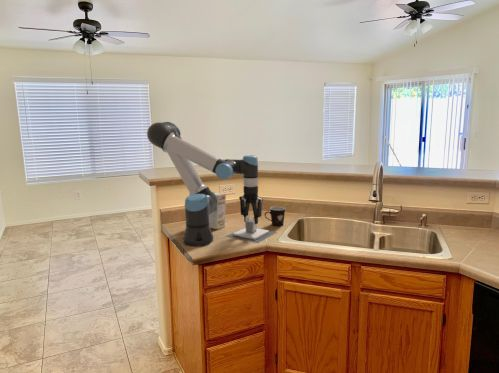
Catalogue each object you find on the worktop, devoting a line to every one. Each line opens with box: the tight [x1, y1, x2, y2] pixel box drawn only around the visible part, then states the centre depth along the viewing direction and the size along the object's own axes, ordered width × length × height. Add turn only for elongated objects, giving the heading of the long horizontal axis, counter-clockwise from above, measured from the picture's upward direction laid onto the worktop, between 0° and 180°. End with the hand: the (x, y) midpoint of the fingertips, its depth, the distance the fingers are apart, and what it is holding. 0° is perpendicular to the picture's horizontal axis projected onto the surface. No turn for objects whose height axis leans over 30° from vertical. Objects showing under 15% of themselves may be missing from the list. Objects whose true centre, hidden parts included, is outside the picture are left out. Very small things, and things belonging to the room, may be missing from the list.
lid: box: [232, 219, 270, 240], centre depth 194 cm, size 14×14×7 cm
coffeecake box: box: [209, 191, 227, 231], centre depth 209 cm, size 15×7×20 cm, turn 50°
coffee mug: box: [264, 206, 286, 227], centre depth 210 cm, size 12×9×10 cm
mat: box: [225, 229, 278, 244], centre depth 194 cm, size 20×20×1 cm
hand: (251, 228), depth 194 cm, fingers closed on lid, 4 cm apart
